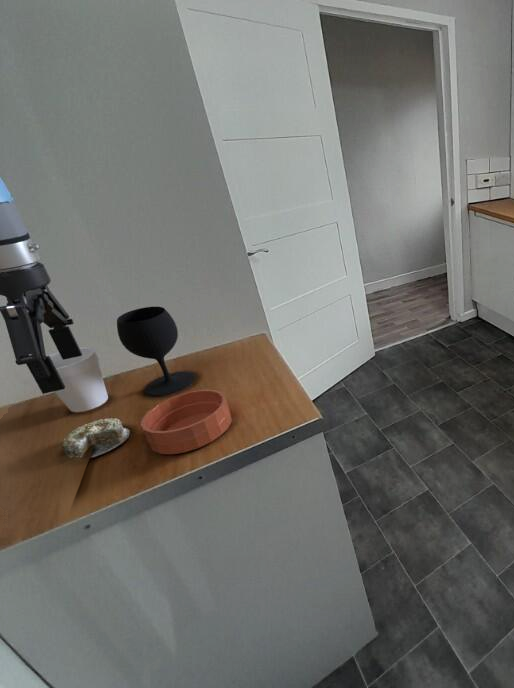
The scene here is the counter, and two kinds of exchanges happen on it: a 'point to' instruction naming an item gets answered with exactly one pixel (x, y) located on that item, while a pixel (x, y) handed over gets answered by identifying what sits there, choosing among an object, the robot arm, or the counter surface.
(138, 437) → the counter surface
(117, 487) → the counter surface
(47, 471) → the counter surface
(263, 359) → the counter surface
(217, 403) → the bowl
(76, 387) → the foam cup
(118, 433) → the cake
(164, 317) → the wine glass
